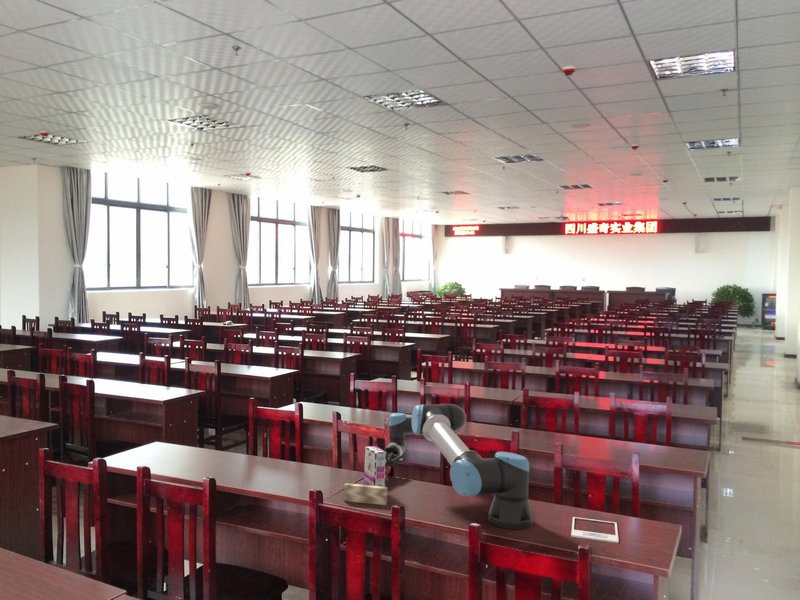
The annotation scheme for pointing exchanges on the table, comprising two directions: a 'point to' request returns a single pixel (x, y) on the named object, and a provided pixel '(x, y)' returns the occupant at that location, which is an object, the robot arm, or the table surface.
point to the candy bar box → (375, 466)
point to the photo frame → (595, 535)
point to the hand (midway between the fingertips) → (379, 467)
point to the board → (365, 494)
